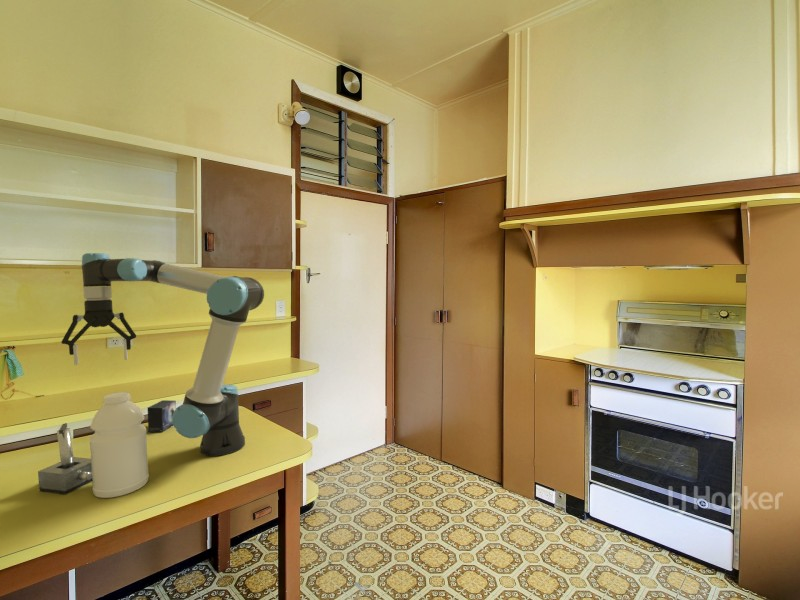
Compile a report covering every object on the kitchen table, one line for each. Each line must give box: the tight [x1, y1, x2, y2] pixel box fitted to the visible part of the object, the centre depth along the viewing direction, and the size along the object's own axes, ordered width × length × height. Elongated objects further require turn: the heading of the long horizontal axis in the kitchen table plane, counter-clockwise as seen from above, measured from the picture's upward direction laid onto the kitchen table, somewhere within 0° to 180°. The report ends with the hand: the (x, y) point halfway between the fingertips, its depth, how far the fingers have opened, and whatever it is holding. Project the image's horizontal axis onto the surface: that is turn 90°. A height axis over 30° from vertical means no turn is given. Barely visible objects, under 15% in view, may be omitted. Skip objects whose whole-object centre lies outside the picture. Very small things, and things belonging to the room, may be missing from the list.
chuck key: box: [56, 422, 75, 469], centre depth 123 cm, size 7×3×17 cm, turn 33°
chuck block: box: [37, 456, 93, 495], centre depth 123 cm, size 12×10×6 cm
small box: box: [147, 399, 177, 433], centre depth 170 cm, size 11×6×10 cm, turn 179°
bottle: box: [89, 391, 150, 499], centre depth 120 cm, size 14×14×28 cm
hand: (101, 361), depth 137 cm, fingers open, 13 cm apart
